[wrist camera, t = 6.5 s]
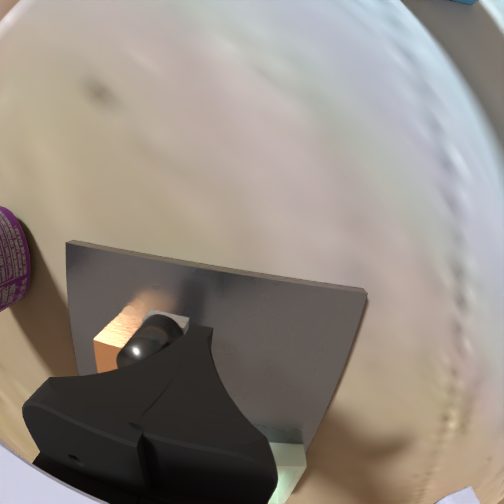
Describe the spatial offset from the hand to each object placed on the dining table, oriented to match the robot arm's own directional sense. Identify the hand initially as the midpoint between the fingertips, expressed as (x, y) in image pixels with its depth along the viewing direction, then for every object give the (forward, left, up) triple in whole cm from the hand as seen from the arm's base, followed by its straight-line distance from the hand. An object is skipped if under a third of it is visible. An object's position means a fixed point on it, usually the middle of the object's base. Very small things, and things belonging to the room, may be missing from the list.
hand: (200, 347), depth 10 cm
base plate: (-8, +1, -5) cm, 9 cm away
